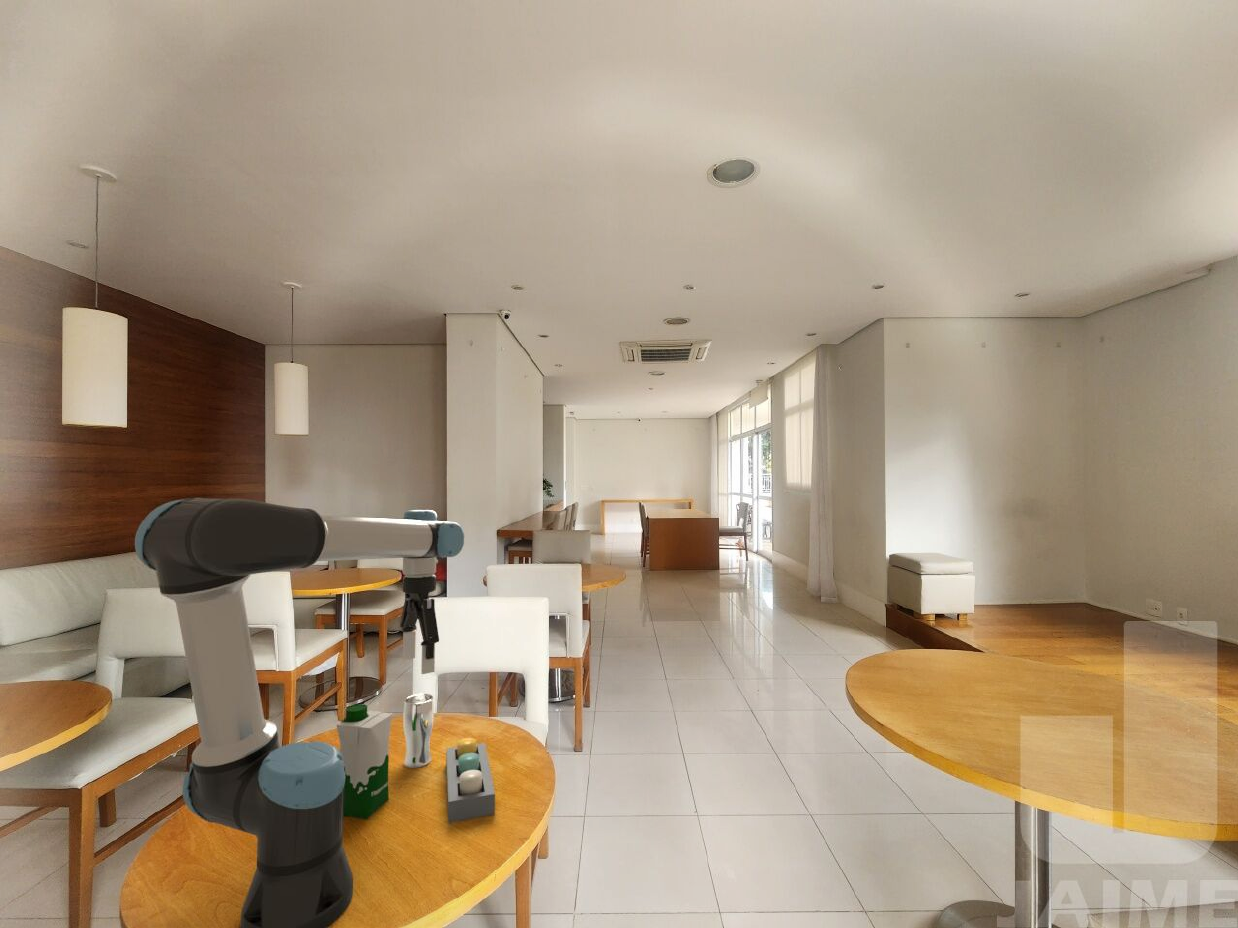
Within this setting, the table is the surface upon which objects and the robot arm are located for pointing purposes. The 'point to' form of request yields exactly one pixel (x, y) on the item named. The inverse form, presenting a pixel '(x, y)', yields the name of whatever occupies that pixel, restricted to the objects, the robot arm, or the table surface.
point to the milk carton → (364, 760)
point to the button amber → (466, 746)
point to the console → (470, 803)
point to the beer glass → (418, 729)
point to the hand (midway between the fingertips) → (418, 665)
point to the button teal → (468, 762)
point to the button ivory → (470, 782)
